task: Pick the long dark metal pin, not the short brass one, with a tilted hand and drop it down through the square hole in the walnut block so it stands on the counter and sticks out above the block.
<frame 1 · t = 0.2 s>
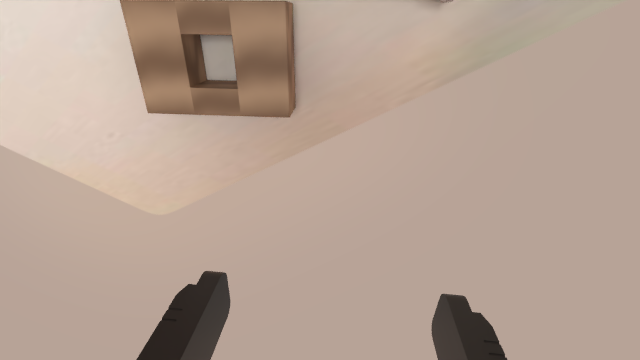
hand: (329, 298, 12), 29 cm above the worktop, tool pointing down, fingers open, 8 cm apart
hole block: (225, 57, 36), on the worktop
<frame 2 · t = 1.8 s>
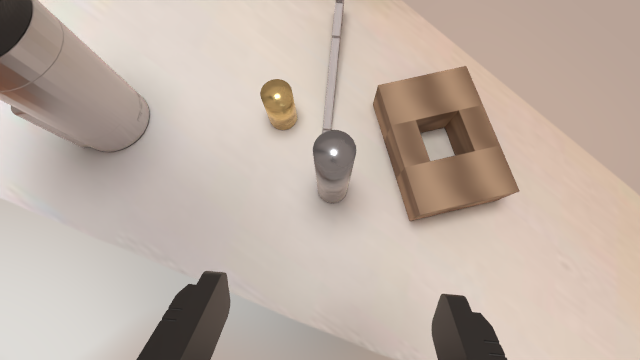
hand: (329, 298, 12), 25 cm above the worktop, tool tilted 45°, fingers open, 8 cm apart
long pin: (332, 188, 38), on the worktop
caliper: (333, 74, 44), on the worktop
hole block: (432, 149, 40), on the worktop
short pin: (283, 117, 41), on the worktop
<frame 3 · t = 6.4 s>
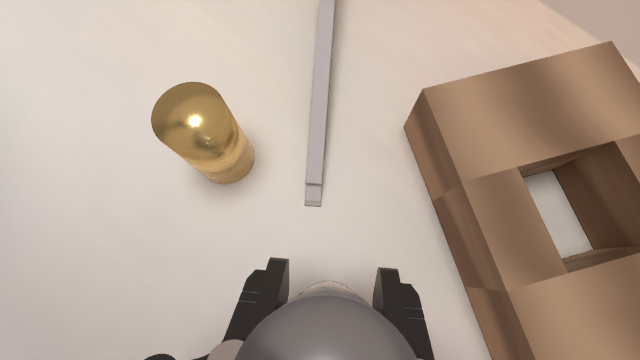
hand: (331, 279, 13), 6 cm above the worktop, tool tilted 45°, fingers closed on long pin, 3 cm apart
long pin: (328, 313, 18), on the worktop, touching gripper
caliper: (324, 72, 23), on the worktop
hole block: (533, 218, 19), on the worktop
short pin: (227, 158, 21), on the worktop
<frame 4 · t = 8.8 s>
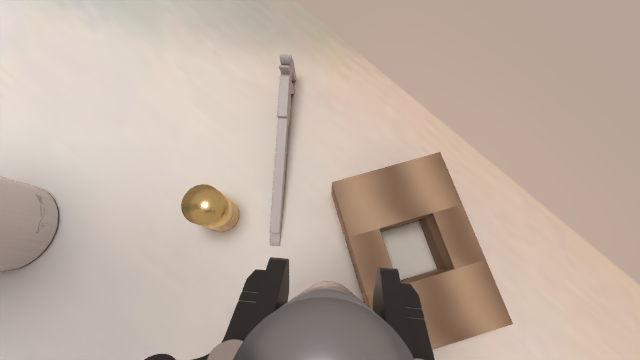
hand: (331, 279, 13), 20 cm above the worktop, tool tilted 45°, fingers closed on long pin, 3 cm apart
long pin: (327, 314, 18), point 14 cm above the worktop, touching gripper
caliper: (284, 156, 36), on the worktop
hole block: (404, 251, 32), on the worktop
short pin: (223, 215, 34), on the worktop
when the fingers open (7 cm above the worktop, at t = 11.6 s): long pin drops 1 cm, resting in hole block.
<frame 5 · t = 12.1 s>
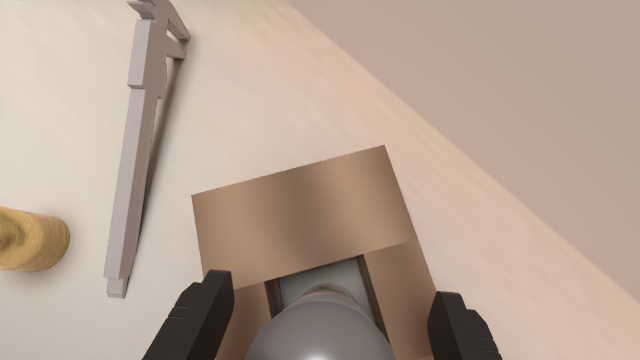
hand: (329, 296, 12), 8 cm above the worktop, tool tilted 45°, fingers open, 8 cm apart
long pin: (327, 313, 19), resting in hole block
caliper: (158, 151, 23), on the worktop
hole block: (327, 310, 19), on the worktop
short pin: (42, 243, 21), on the worktop
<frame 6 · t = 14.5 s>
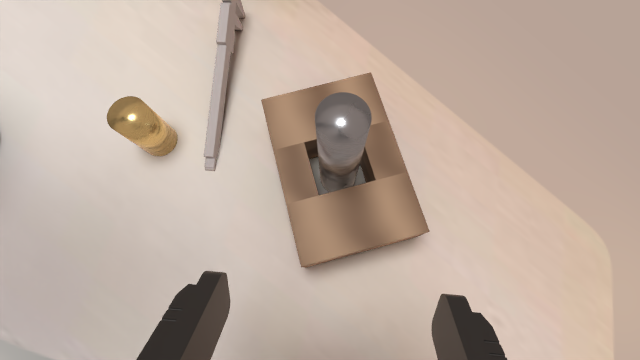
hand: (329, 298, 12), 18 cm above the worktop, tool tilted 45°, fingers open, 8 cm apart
long pin: (337, 177, 32), resting in hole block
caliper: (228, 88, 36), on the worktop
hole block: (337, 175, 32), on the worktop
short pin: (161, 140, 34), on the worktop
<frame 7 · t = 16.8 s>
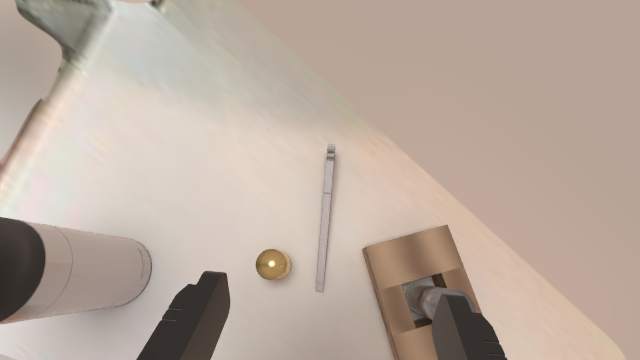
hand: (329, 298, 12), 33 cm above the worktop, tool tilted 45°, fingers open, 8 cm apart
long pin: (418, 298, 42), resting in hole block
caliper: (325, 218, 46), on the worktop
hole block: (418, 297, 42), on the worktop
short pin: (278, 265, 44), on the worktop
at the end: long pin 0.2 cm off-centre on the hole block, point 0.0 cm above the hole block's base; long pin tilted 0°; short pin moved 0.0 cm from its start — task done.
